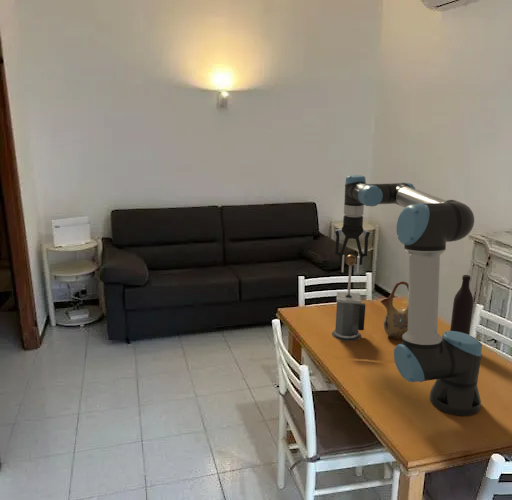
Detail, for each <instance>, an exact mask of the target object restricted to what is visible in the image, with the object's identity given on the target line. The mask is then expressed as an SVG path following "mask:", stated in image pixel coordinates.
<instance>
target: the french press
mask: <svg viewBox="0 0 512 500" xmlns="http://www.w3.org/2000/svg"><path fill="white" fill-rule="evenodd" d="M347 294H348V291H336V314H335V327H334V330H333V331H334V335H335V336H336V337H337V338H340V339H344V340H353V339H356V338H358V336H359V333H360V332H359V331H364V330H365V319H366V318H365V317H366V303H365V302H364V303H362V298H361V292H360V293H359V292H350V298H348V297H347Z"/></svg>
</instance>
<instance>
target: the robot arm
mask: <svg viewBox="0 0 512 500" xmlns="http://www.w3.org/2000/svg"><path fill="white" fill-rule="evenodd" d="M344 183H345V184H344V203H343V221H342V227H341V228H339V229H335V230H334V232H335V237H336V239H335V247H334V254H335V256H336V255H337V256H338V257H339V258H338V259H339V260H338V264H340V265H341V273H344V270H345V267H344V266H345V254H344V252H345V249H346V246H347V244H348V241H349V240H350V239H351V240H352V239H353V240H355V242H356V246H357V250H358V254H359V255H357V256H356V257H357V258H356V274H359V273H360V266H362V265H363V258H364V257H368V254H369V250H368V248H369V237H370V235H371V232H370V230H365V229H364V227H363V226H364V216H363V215H364V211H365V209H364V207H365V206H366V207H376V206H378V205H392V204H394V205H398V206H400V207H403V209H402V211H401V212H400V214H399V216H398V217H397V222H396V236H397V238H398V241H399V243H401V244H402V245H404V247H403V249H404V250H405V251H406V252H407V253H408V255H409V258H408V259H409V260H408V264H409V265H408V284H409V292H408V291H407V292H408V297H407V299H408V300H407V303H408V304H407V306H408V330H407V332H405V333H404V334H403V335H402V340H401V343H398V344H396V346H395V347H394V350H393V358H394V359H393V360H394V363H395V366H396V369H397V370H398V372H399V374H400V376H401V377H402V378H403V380H405V381H407V382H409V383H417V382H420V383H423V382H427V381H434V380H435V382H434V383H433V384H432V385H433V386H432V388H431V389H430V391H429V392H430V393H429V401H430V403H431V404H432V405H433V406H434V407H435V408H437V409H439V410H440V411H442V412H445V413H446V414H451V415H454V416H461V417H465V416H466V417H468V416H473V415H476V414H478V412H480V410H481V403H482V400H481V396H480V392H479V391H480V390H479V388H478V381H479V373H480V368H481V367H480V366H481V360H482V356H483V354H482V350H483V346H482V343H481V341H480V340H479V339H477V338H476V337H474V336H473V335H471V334H469V335H468V334H465V333H462V332H457V331H450V330H447V331H444V332H443V333H442V335H441V336H440V334H439V333H438V320H439V319H438V317H439V291H440V289H439V288H440V266H441V265H440V264H441V263H440V261H441V255H442V254H443V253H444V252H445V251H446V250H447V249H446V248H447V245H446V244H447V242H449V243H451V242H456V241H457V242H458V241H459V240H462V239H464V238H465V237H467V236H468V235H469V234H470V233H471V231H472V230H473V228H474V224H475V216H474V212H473V210H472V209H471V208H470V207H469V206H468V205H467V204H465V203H463V202H461V201H458V200H455V199H448V200H445V199H443V198H440V197H438V196H434V195H431V194H429V193H427V192H424V191H421V190H419V189H416V187H415V186H414V184H413V183H410V182H398V183H394V182H393V183H367V182H366V176H364V175H360V174H359V175H358V174H352V175H347V176H346V178H345V182H344ZM342 233H343V235H344V236H345V237H344V239H343V242H342V244H341V247H340V236H341V235H342ZM362 234H363V236H364V244H363V245H364V248H363V250H364V251H362V245H361V241H360V236H361V235H362ZM339 248H341V249H339ZM339 250H340V251H339Z"/></svg>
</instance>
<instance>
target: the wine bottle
mask: <svg viewBox="0 0 512 500" xmlns="http://www.w3.org/2000/svg"><path fill="white" fill-rule="evenodd" d="M461 280H462V283H461V287H460V288H459V290H458V291H457V292H456V293H455V296H454V299H453V303H452V304H453V305H452V313H451V321H450V327H449V328H450V330H449V331H457V332H462V333H465V334H468V335H470V333H471V332H470V330H471V323H472V315H473V310H474V309H473V307H474V297H473V294H472V292H471V289H470V281H471V276H470V275H469V274H463V275H462V278H461Z"/></svg>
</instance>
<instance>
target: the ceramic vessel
mask: <svg viewBox="0 0 512 500" xmlns="http://www.w3.org/2000/svg"><path fill="white" fill-rule="evenodd" d="M400 285H404V286H406V289H407V292H409V282H407V281H399V282H397V283H396V284H395V285H394V286H393V289H392V291H391V293H390V295H389V296H388V297H385V298H382V299H381V300H380V303H381V305H383V306H384V307H385V309H386V316H385V318H384V319H383V329H384V331H385V334H386V335H387V336H388V337H389V338H391V339H394V340H401V341H402V335H403V334H404V333H405V332H407V330H408V305H407V306H406V307H404V308H400V309H399V308H395V307H394V305H393V304H394V303H393V301H394V296H395V294H396V290H398V289H397V288H398V287H399V286H400Z"/></svg>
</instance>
